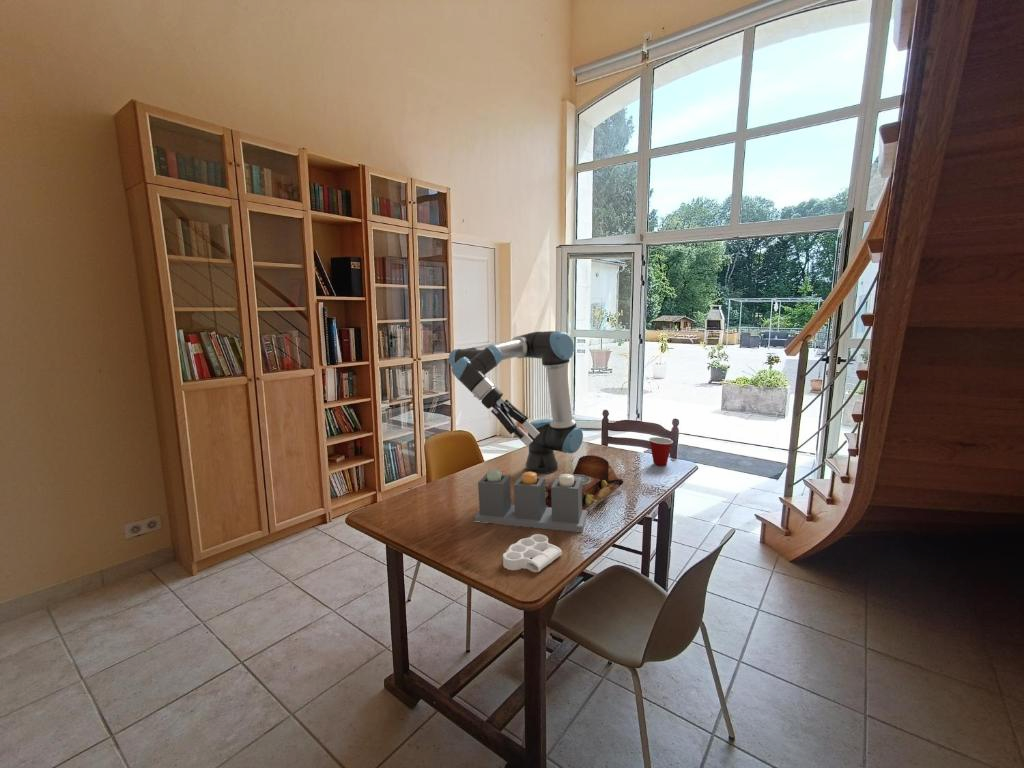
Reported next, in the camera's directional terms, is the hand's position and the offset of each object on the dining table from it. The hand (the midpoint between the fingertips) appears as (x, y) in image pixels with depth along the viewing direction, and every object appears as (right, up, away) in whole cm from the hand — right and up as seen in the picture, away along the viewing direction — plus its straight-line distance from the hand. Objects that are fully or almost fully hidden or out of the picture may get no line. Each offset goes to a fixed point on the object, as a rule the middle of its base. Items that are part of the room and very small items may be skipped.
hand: (533, 439), depth 157 cm
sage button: (-14, -16, +6) cm, 22 cm away
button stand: (-1, -29, +5) cm, 29 cm away
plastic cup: (+62, -19, +58) cm, 87 cm away
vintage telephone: (+22, -25, +27) cm, 43 cm away
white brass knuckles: (-2, -33, -21) cm, 39 cm away
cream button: (+11, -16, -1) cm, 20 cm away
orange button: (-1, -16, +3) cm, 16 cm away
